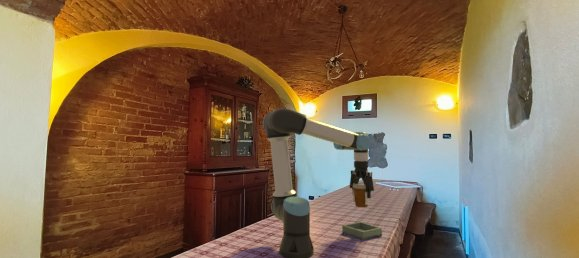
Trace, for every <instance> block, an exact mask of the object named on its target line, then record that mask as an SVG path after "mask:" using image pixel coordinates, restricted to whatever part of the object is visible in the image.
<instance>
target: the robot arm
mask: <svg viewBox="0 0 579 258" xmlns="http://www.w3.org/2000/svg"><path fill="white" fill-rule="evenodd" d="M262 127H263V130H264V131H265V133H266V139H267V140H268V141H269V142H270V151H271V153H270V154H271V163H272V172H273V173H272V174H273V181H274V182H273V183H274V191H273V193H272V201H271V205H270V208H271V212H272V214H273V215H274V217H275V218H276V219H278V221H279V220H280V221H281V222H282V223H283V228H282V230H283V235H282V238H281V242H280V244H279V250H278V251H279V255H281V256H282V257H283V258H311V257H312V256H314V252H315V250H314V244H313V241H312V239H311V235H310V227H311V222H310V221H311V217H310V215H311V213H310V212H311V207H310V202H309V200H308V199H306V198H304V197H300V196H298V195H297V191H296V190H295V189H293V188H294V187H293V179H292V169H291V168H292V167H291V159H290V158H291V157H290V149H289V139H290V138H291V134H296V135H298V136H300V135H306V136H310V137H312V138H313V137H314V138H316V139H321V140H323V141H326V142H329V143H332V144H333V147H334V149H335V150H340V151H342V150H343V151H344V150H346V151H349V150H350V151H351V150H352V151H353V160H354V161H353V168H354V169H352V170H350V180H349V188H350V189H351V190H352V196H353V197H352V200H353V201H352V202H354V203H355V197H354V190H353V183H355V184H358V183H360V180H362V183H364V185H366V192H365V205H368V206H369V205H371V198H372V192H374V191H375V187H374V181H373V172H372V171H369V170H368V169H369V161H368V160H369V148H370V146H371V138H370V137H369V135H368V133H367V132H365V131H358V132H357V131H356V132H353V131H350V130H346V129H344V128H340V127H336V126H334V125H331V124H327V123H324V122H321V121H318V120H316V119H312V118H309V117H307V115H306V114H304V113H301V112H298V111H297V110H296V111H295V110H292V109H290V108H286V107H285V108H283V107H281V108H278V109H276V110H271V111H270V112H268V113H267V114H266V115H265V116H264V118H263V120H262Z"/></svg>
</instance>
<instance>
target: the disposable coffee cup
mask: <svg viewBox="0 0 579 258" xmlns="http://www.w3.org/2000/svg"><path fill="white" fill-rule="evenodd" d="M353 190H354V197H355V202H354V203H355V207H357V208H367V207H368V206H369V204H368V205H365V192H366V185H364V182H359V183H358V184H355V183H353ZM353 190H352V191H353Z"/></svg>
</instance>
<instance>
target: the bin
mask: <svg viewBox="0 0 579 258" xmlns="http://www.w3.org/2000/svg"><path fill="white" fill-rule="evenodd" d="M341 229H342V230H341V231H342V234H345V235H347V236H351V237H353V238H356V239H359V240H361V241H366V240H370V239H373V238H378V237H382V236H383V228H382V227H380V226H376V225H373V224H369V223H366V222H363V221H357V222H353V223H348V224H347V223H346V224H342V228H341Z"/></svg>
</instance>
